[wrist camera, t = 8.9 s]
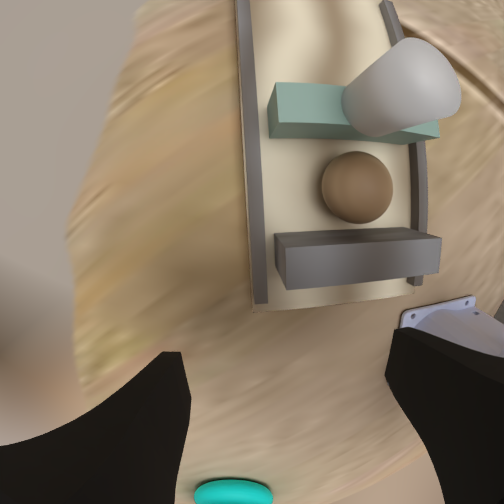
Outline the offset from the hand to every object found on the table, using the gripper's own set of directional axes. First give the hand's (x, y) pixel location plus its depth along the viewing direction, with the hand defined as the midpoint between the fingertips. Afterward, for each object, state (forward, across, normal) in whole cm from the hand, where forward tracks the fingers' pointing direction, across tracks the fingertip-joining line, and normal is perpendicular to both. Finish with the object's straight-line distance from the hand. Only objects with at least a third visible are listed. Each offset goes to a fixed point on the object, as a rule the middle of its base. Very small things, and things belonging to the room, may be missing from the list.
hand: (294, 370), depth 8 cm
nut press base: (+10, -5, -10) cm, 15 cm away
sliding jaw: (+9, -5, -10) cm, 14 cm away
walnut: (+7, -5, -6) cm, 10 cm away
